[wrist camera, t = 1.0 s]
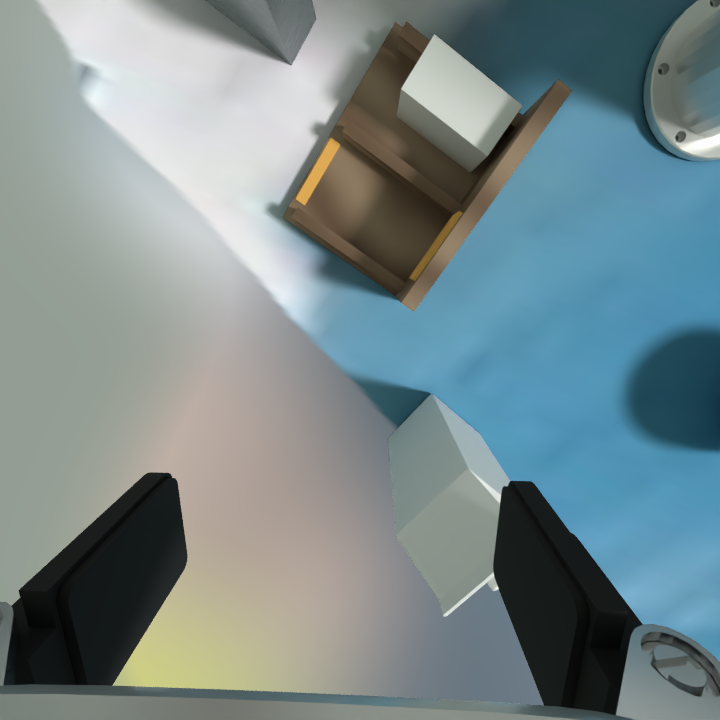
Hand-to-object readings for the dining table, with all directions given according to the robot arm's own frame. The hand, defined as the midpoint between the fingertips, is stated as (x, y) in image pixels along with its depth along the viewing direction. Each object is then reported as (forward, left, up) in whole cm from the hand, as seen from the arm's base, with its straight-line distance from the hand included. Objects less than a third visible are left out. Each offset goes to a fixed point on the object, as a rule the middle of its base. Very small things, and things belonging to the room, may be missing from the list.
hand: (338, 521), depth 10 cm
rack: (-14, -6, -28) cm, 32 cm away
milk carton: (+5, +12, -28) cm, 31 cm away
